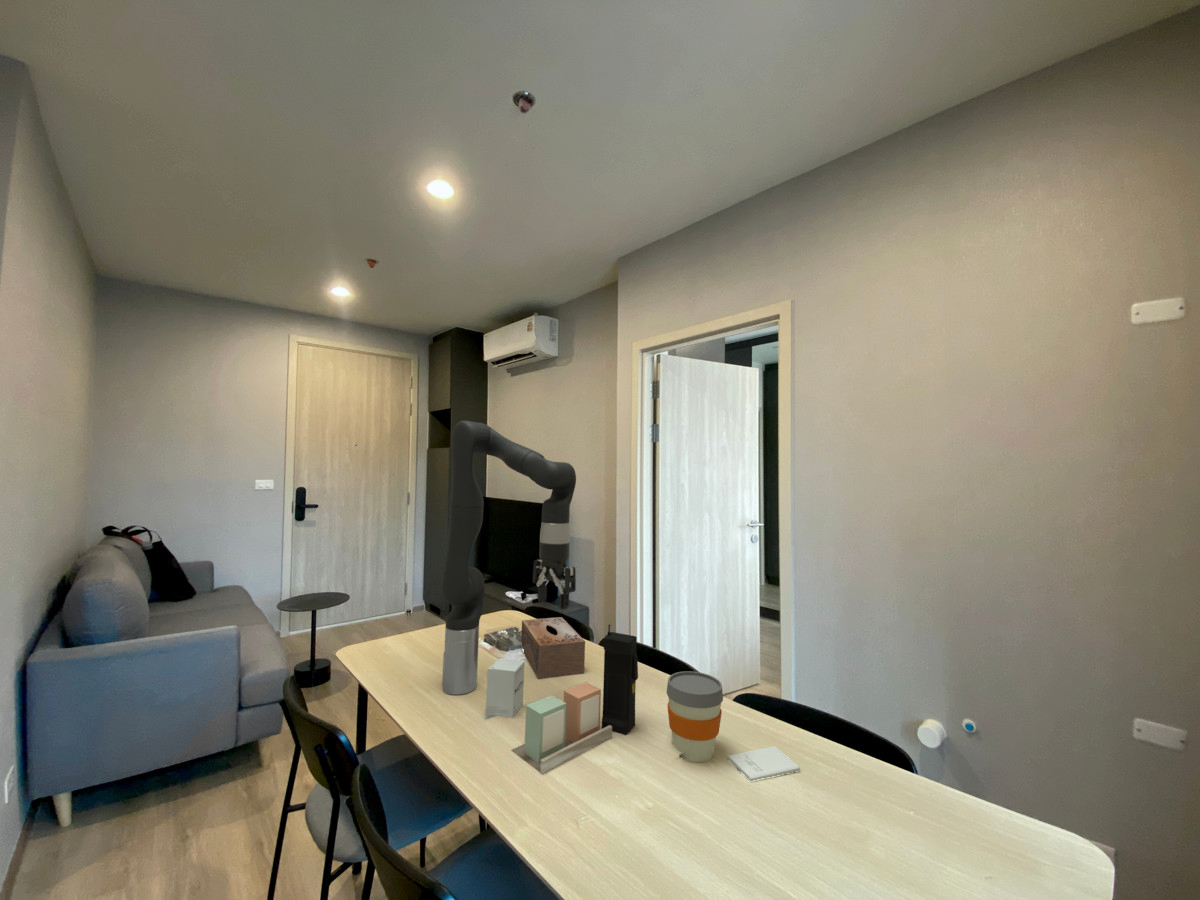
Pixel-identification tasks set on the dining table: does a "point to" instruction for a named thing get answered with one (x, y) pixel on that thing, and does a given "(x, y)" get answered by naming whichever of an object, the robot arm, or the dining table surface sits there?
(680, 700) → the reusable coffee cup
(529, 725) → the tea tin
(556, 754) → the shallow tray
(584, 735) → the terracotta tin
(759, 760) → the external hard drive
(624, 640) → the portable radio
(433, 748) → the dining table surface
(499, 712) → the supplement box
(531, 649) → the tissue box cover
